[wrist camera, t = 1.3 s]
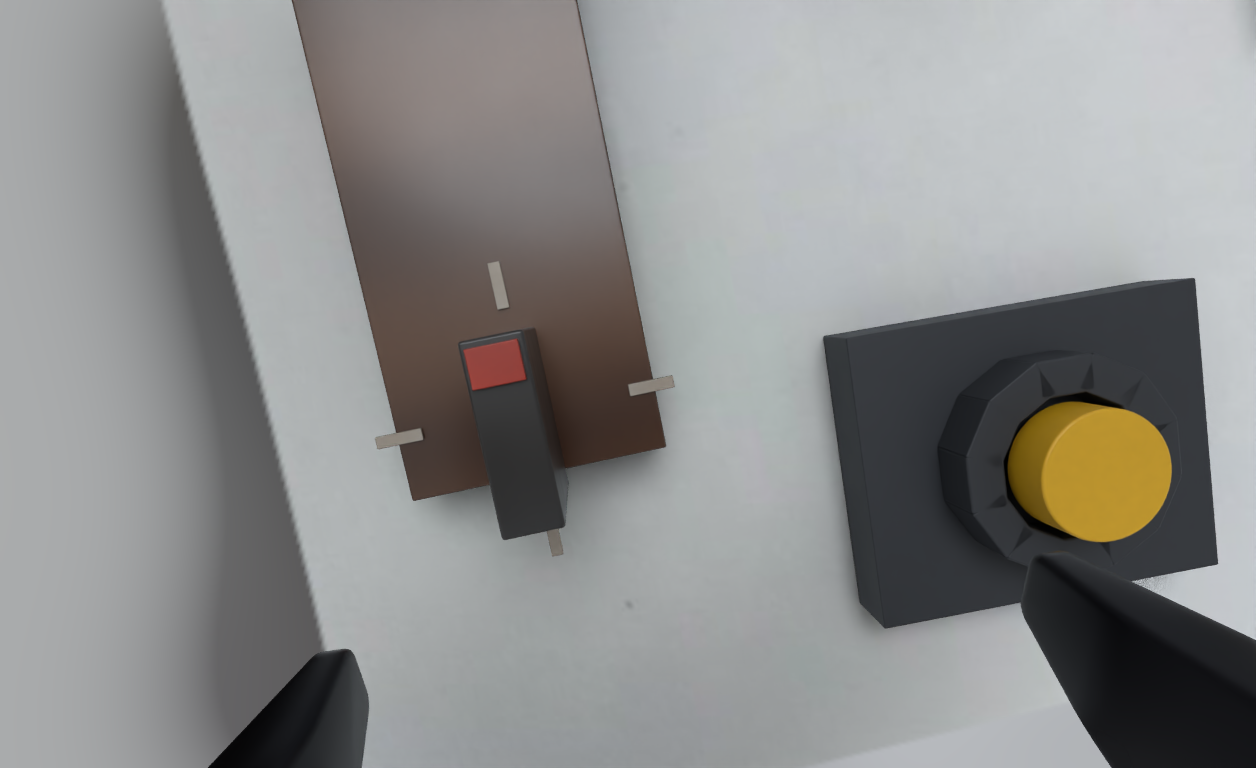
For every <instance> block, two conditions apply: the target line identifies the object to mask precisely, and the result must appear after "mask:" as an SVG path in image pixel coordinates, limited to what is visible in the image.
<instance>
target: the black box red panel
mask: <svg viewBox="0 0 1256 768" xmlns="http://www.w3.org/2000/svg"><path fill="white" fill-rule="evenodd" d="M458 348H459V353H460V357H461V362H462V366H463V370H464V375H465V379H466V383H467V388H468V392H469V396H470V401H471V405H472V410H473V414H474V418H475V423H476V427H477V431H478V436H479V440H480V445H481V449H482V453H483V458H484V462H485V466H486V471H487V475H488V479H489V484H490V488H491V493H492V497H493V501H494V506H495V510H496V514H497V519H498V523H499V527H500V532H501V536H502V538H503V540H508V539H513V538H517V537H522V536H526V535H531V534H536V533H540V532H545V531H549V530H554V529H559V528H563V527H564V526H565V523H566V510H567V497H568V484H569V482H568V477H567V473H566V468H565V464H564V459H563V454H562V450H561V445H560V440H559V436H558V431H557V427H556V422H555V417H554V413H553V408H552V403H551V399H550V394H549V390H548V385H547V380H546V376H545V371H544V367H543V362H542V357H541V353H540V348H539V343H538V339H537V334H536V330H535V328H534V327H529V328H524V329H519V330H514V331H509V332H504V333H499V334H494V335H489V336H484V337H480V338H475V339H470V340H465V341H460V342H459V343H458Z"/></svg>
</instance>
